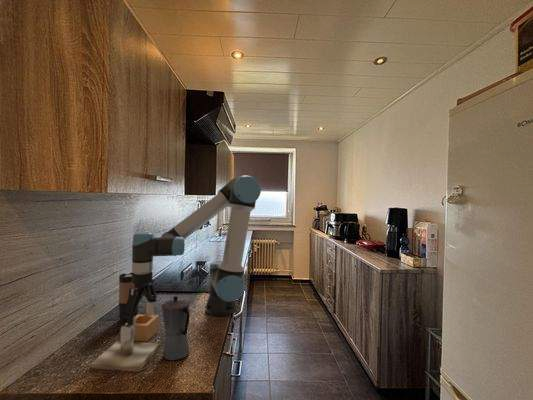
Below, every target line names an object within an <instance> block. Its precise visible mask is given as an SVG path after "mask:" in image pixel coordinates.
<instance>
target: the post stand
mask: <svg viewBox="0 0 533 400" xmlns="http://www.w3.org/2000/svg"><path fill="white" fill-rule="evenodd" d="M160 346H161V345H160V343H157V342H145V341H134V325H133V324H127V325H125V324H124V325H122V326H121V327H120V340H117V341H116V342H114V344H112V345H111V346H110V347H109V348H107V349H106V350H105V351H104V352H103V353H102V354H100V355H99V356H98V357H97V358H96V359H94V360H93V361H92V362H91V363H90V369H97V370H108V371H110V370H111V371H121V372H122V371H123V372H136V373H137V372H138V373H139V372H140V371H141V370H142V369H143V367H145V365H146V364H147V363H148V361H149V360H150V359H151V358H152V357H153V356H154V355H155V353H157V351H158V350H159V349H160Z"/></svg>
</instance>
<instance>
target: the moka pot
mask: <svg viewBox="0 0 533 400" xmlns="http://www.w3.org/2000/svg"><path fill="white" fill-rule="evenodd" d="M189 303H190V302H188V300H181V299H179V298H178V296H173V300H172V299H171V300H166V301H165V302H164V303H163V304H161V310H162V317H163V318H162V319H163V325H164V326H163V327H164V332H165V335H164V345H163V353H162V357H163V359H165V360H167V361H177V360H182V359H184V358H185V357H187V356H188V355H189V354H190V344H189V338H188V327H189V322H190V304H189Z"/></svg>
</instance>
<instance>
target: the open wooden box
mask: <svg viewBox="0 0 533 400" xmlns="http://www.w3.org/2000/svg"><path fill="white" fill-rule="evenodd" d="M159 318H160V315H156V314H155V315H154V314H153V315H146V314H139V313H138V315H136V324H135V334H134V342H148V341H149V340H150V339H151V338H153V337H154V336H155V334H156V333H157V332H158V331H159V329H160V325H159V323H160V322H159V321H160V319H159ZM124 325H127V323H124Z"/></svg>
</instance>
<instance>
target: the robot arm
mask: <svg viewBox="0 0 533 400" xmlns="http://www.w3.org/2000/svg"><path fill="white" fill-rule="evenodd" d="M261 193H262V187H261V185H260V182H259V181H258V180H257V179H256V178H255V177H254V176H251V175H244V174H243V175H241V176H236V177H233V178H232V179H230V180H229V181H228V182H227V183H226V184H225V185H223V187H221V188H220V189H219V190H218V191H217V194H216V195H214V196H213V197H212V198H210V199H209V200H208V201H206V202H205V203H204V204H202V205H201V206H200V207H198V208H197V209H196V210H195V211H193V212H192V213H191V214H189V215H188V216H186V217H185V218H184V219H182V220H181V221H180V222H179V223H177V224H176V225H175V226H173V227H172V228H171V229H169V230H168V231H165V232H164V233H163V234H161V236H160V237H157V236H156V237H155V236H154V232H151V231H139V232H136V233H134V234H133V235H132V244H131V246H132V247H131V248H132V249H131V251H132V252H131V253H132V254H131V261H132V262H131V273H132V272H133V273H132V283H134V284H135V287H134V289H130V290H129V297H128V300H127V304H126V308H125V312H124V315H123V317H125V318H127V324H133V325H134V334H135V324H136V316H134V315H135V312H136V310H137V307H138V308H139V304H140V301H141V300H142V299H143V297H145V298H146V300H147V302H146V310H145V312H146V313H145V315H154V309H155V308H154V303H156V302H157V297H158V296H157V292H156V288H155V284H154V279H153V278H154V277H153V273H154V272H153V270H154V269H153V268H154V259H153V258H154V257H173V256H174V257H176V256H183V255H184V254H185V245H186V244H185V240H186V239H187V238H189V237H190V236H191V235H192V234H194V233H196V231H198V230H199V229H201V228H202V227H203V226H204V225H206V223H209V222H210V220H212V219H214V217H216V216H217V215H218V214H220V213H221V212H223V211H224V210H225V209H226V208H230V215H229V221H228V227H227V232H226V238H225V243H224V250H223V254H222V260H221V261H217V262H211V263H210V264H209V271H208V272H209V281H208V282H209V289H208V290H209V292H208V293H209V294H208V298H207V301H206V304H205V313H206V314H207V315H209V316H213V317H226V316H230V315H233V314H235V313H236V312H237V311H238V304H237V303H238V302H237V300H238V299H239V298H241V297H242V295H243V294H244V292H245V281H244V279H243V278H244V275H245V274H244V272H245V268H244V267H243V265H242V264H243V258H244V254H245V253H244V252H245V248H246V247H245V246H246V241H247V234H248V230H249V221H250V218H251V217H250V216H251V212H252V211H253V210H254V209H255V208H256V203H257V201H258V199H259V198H260V196H261Z"/></svg>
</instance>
